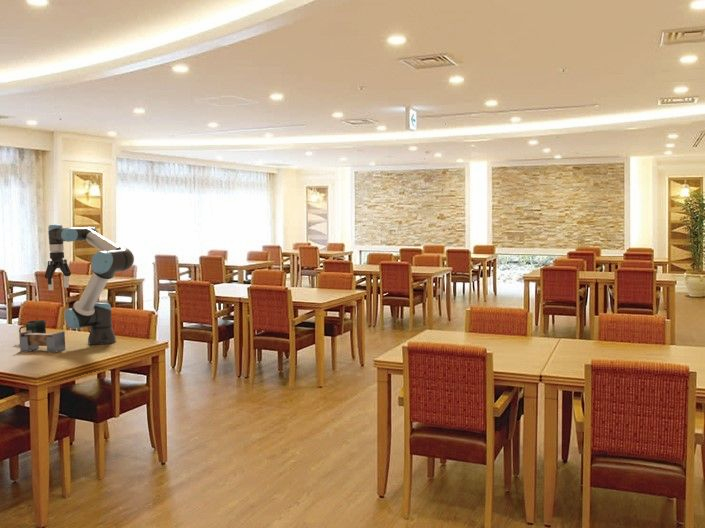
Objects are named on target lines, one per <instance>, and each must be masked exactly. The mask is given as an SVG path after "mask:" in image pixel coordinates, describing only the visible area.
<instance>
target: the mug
mask: <svg viewBox="0 0 705 528" xmlns="http://www.w3.org/2000/svg"><path fill="white" fill-rule="evenodd" d="M46 322H47V321H46V320H44V319H43V320H41V319H39V320H30V321H25V322H24V324H25V325H22V326H20V327H19V329H18V331H19V333H22V332H21V331H22V330H21V329H23V328H24V329H25V332H26V331H30V330H32V333H47V329H46Z"/></svg>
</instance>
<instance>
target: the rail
mask: <svg viewBox="0 0 705 528" xmlns="http://www.w3.org/2000/svg"><path fill="white" fill-rule="evenodd" d="M53 334H54V333H52V332H51V333H50V332H49V333H47V332H46V333H28V334H24V337H29V345H31V346H39V347H40V346H41V347H47V340H46V337H53Z"/></svg>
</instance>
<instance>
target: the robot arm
mask: <svg viewBox="0 0 705 528" xmlns="http://www.w3.org/2000/svg"><path fill="white" fill-rule="evenodd" d="M47 229H48V231H47V235H48V245H49V259H51V260H48V261H47V266H46V269H45V275H44V279H46V280H47V286H48V291H54V278H53V277H54V274H55V272H56V270H57V269H59V271H61V272H62V274H63V276H62V277H63V278H62V279H63V288H69V287H70V286H69V284H70V282H69V279H70V278H69V277H70V276H71V275H72V273H71V269H70V266H69V264H68V260H67V259H65V251H64V250H65V247H64V246H65V245H64V242H67V243H68V242H69V243H70V242H81V241H85V242H86V243H88V244H89V245H91V246H93V247H94V248H96V249H97V250H99V251H97V252H95V253H94V254H93V256H92V258H91V260H90V262H91V264H90V266H91V271H92V275H91V276H90V278H89V280H88V282H87V284H86V287H85V288H84V291H83V292H82V294H81V296H80V298H79V300H77V301H75V302H74V303H73V305H72V307H69V308H67V309H66V310H64V321H65V324H66V325H67V327H69V329H72V330H75V329H76V330H78V329H81V328H83V329H84V328H88V327H90V331H89V334H88V338H87V344H88V345H94V346H95V345H107V344H112V343H116V342H117V338H116V335H115V332H114V329H113V325H112V324H113V321H112V320H113V319H112V318H113V317H112V305H111V304H110V303H108V302H98V300H99V298H100V296H101V294H102V293H103V291H104V289H105V287H106V285H107V283H108V281H109V280H111V279H113V278H114V276H115V274H116V273H117V272H126V271H127V270H129V269H131V268H132V266H133V265H134V262H135V255H134V254H133V252H132V251H131V249H129V248H127V247H125V246H122V245H121V246H120V245H118V244H116V243H115V242H113V241H111V240H110V239H108V238H106V237H105V236H104V235H102V234H100V233H99V232H98V229H97V228H96V227H95V226H94V227H93V226H83V227H63V225H62V224H49V225H48V228H47Z"/></svg>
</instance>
